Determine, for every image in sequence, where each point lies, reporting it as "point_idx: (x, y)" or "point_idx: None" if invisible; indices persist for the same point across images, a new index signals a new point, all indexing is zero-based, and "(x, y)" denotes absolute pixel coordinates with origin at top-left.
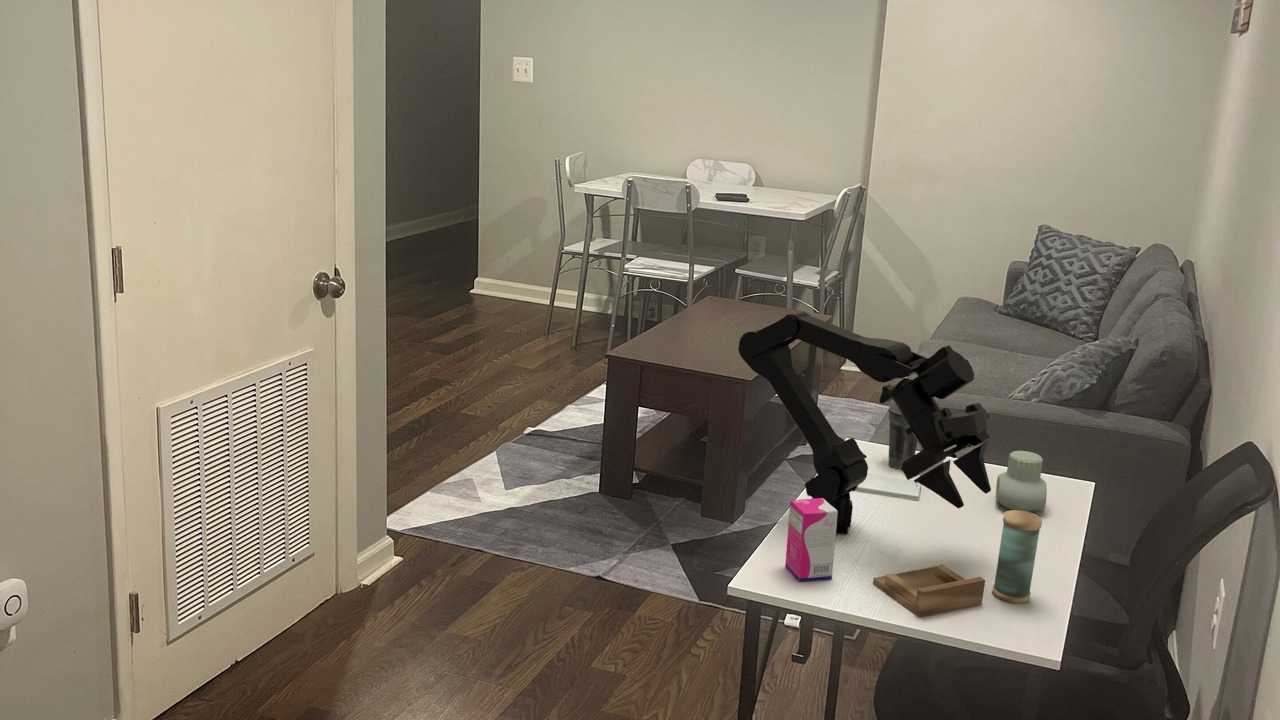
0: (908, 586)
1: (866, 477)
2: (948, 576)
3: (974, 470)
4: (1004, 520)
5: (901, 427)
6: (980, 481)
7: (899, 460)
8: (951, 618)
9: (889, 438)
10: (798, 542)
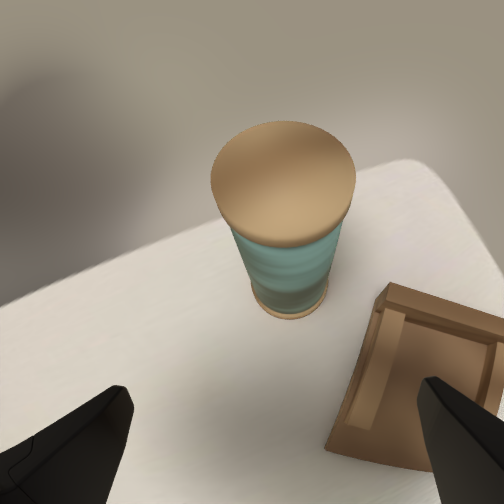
0: (493, 390)
1: None
2: (386, 380)
3: (72, 492)
4: (340, 219)
5: None
6: (106, 444)
7: None
8: (463, 303)
9: None
10: None
